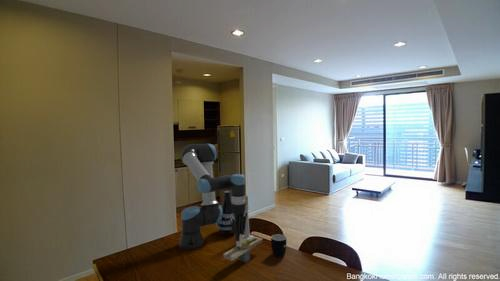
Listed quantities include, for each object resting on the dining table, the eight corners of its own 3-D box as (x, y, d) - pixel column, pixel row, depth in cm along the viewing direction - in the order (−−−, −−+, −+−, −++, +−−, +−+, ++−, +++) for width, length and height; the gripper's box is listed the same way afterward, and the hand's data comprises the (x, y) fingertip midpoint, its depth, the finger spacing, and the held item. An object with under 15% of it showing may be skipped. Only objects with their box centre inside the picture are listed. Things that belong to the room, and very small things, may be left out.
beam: (223, 268, 135) (222, 253, 135) (254, 249, 158) (254, 236, 158) (231, 272, 132) (231, 257, 131) (262, 251, 154) (262, 238, 154)
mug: (285, 259, 145) (285, 241, 145) (269, 257, 147) (269, 239, 147) (288, 249, 156) (287, 233, 156) (273, 248, 159) (273, 231, 158)
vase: (243, 232, 185) (242, 191, 184) (226, 239, 173) (226, 195, 172) (228, 227, 196) (227, 188, 195) (211, 233, 184) (211, 192, 183)
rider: (236, 249, 144) (236, 240, 143) (242, 246, 148) (241, 237, 147) (244, 252, 140) (244, 243, 140) (249, 248, 144) (249, 240, 144)
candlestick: (256, 244, 165) (256, 197, 164) (236, 244, 165) (236, 197, 164) (256, 236, 178) (256, 192, 177) (238, 236, 178) (237, 193, 177)
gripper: (236, 207, 133) (236, 252, 134) (251, 201, 143) (251, 243, 144) (225, 204, 137) (226, 248, 138) (240, 199, 148) (241, 240, 149)
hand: (239, 245), depth 141 cm, fingers closed
